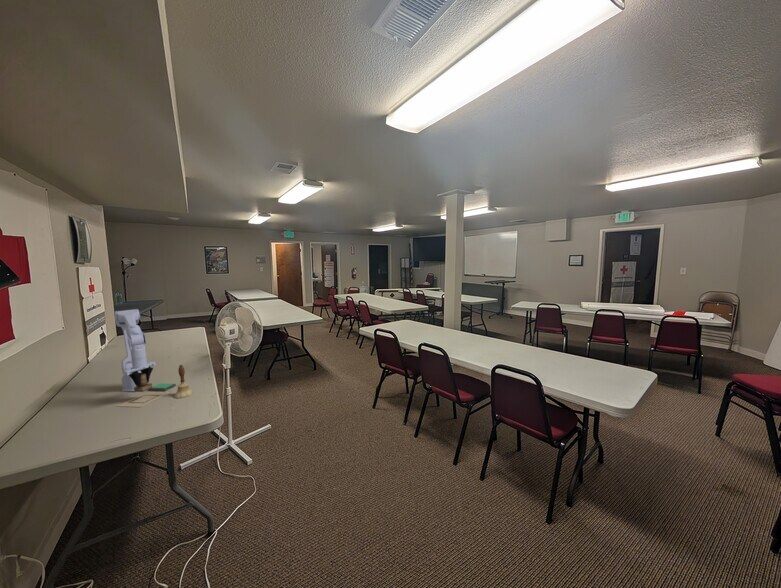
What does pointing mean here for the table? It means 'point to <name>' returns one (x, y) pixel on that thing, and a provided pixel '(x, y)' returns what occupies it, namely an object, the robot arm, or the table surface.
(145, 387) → the stamp
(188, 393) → the hand bell
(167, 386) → the ink pad
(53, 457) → the table surface
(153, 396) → the plate
